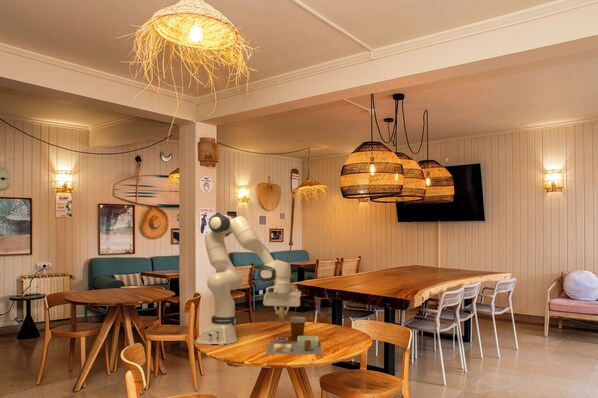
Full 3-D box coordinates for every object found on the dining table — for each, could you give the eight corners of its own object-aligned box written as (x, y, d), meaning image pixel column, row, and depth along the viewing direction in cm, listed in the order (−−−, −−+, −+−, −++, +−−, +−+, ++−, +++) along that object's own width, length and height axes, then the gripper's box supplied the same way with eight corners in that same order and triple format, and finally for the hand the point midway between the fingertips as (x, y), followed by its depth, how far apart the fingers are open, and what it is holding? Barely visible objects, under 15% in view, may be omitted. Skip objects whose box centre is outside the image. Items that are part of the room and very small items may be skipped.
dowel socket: (275, 345, 247) (275, 340, 247) (276, 342, 253) (276, 337, 254) (287, 345, 247) (287, 340, 247) (288, 343, 253) (288, 337, 253)
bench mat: (265, 355, 231) (265, 353, 231) (270, 342, 257) (270, 341, 257) (321, 355, 231) (321, 354, 231) (320, 343, 257) (320, 341, 257)
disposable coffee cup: (304, 341, 261) (304, 319, 262) (287, 340, 263) (287, 318, 264) (307, 337, 270) (307, 316, 271) (291, 336, 272) (291, 315, 273)
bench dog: (304, 351, 236) (304, 341, 237) (304, 349, 239) (304, 339, 240) (310, 351, 236) (310, 341, 236) (310, 349, 239) (310, 339, 240)
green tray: (297, 346, 245) (297, 340, 245) (297, 342, 255) (297, 335, 255) (318, 347, 245) (318, 340, 245) (317, 342, 255) (317, 335, 255)
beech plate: (273, 351, 235) (273, 347, 235) (274, 348, 242) (274, 343, 242) (290, 352, 234) (290, 347, 235) (291, 348, 241) (291, 343, 242)
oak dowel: (278, 322, 250) (278, 305, 250) (278, 321, 253) (279, 304, 253) (283, 322, 249) (284, 306, 250) (284, 321, 252) (284, 305, 253)
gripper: (301, 288, 255) (300, 313, 254) (264, 287, 255) (263, 312, 255) (301, 290, 249) (300, 316, 248) (263, 289, 249) (262, 314, 248)
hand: (281, 314), depth 251 cm, fingers closed on oak dowel, 3 cm apart
